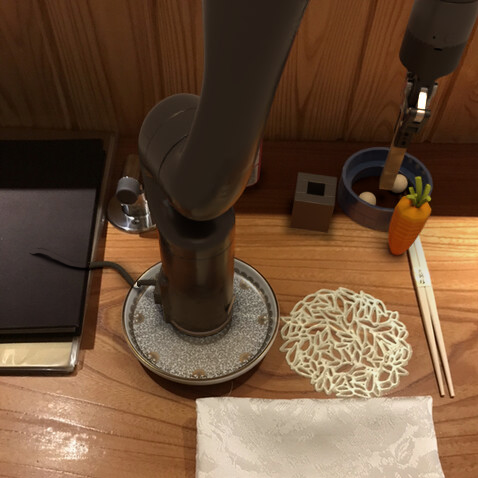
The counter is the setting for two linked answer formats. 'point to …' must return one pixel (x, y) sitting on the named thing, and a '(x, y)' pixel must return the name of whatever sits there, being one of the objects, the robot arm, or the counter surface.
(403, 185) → the bead
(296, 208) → the stick holder
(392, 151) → the stick
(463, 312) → the counter surface
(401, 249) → the carrot
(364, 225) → the bowl
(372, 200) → the bead
